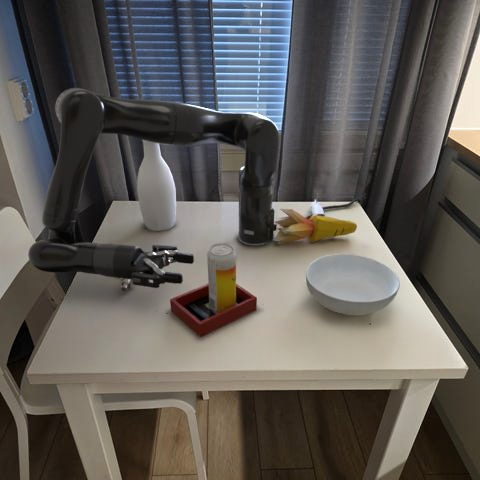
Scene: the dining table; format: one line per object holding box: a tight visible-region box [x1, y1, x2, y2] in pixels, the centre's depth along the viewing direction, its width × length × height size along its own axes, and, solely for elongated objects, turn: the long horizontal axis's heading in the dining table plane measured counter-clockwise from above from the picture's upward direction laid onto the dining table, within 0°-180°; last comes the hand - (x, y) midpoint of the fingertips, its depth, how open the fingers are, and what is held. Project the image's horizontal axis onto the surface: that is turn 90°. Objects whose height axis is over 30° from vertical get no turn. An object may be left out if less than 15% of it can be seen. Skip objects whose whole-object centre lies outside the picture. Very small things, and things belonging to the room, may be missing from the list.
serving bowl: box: [305, 253, 401, 316], centre depth 103 cm, size 21×21×7 cm
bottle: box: [136, 139, 177, 232], centre depth 129 cm, size 11×11×25 cm
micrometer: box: [120, 279, 133, 292], centre depth 113 cm, size 15×7×2 cm, turn 177°
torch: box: [273, 208, 358, 245], centre depth 128 cm, size 8×8×25 cm
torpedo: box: [308, 192, 326, 217], centre depth 139 cm, size 18×5×7 cm, turn 0°
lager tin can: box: [206, 242, 237, 314], centre depth 99 cm, size 6×6×15 cm
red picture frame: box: [169, 283, 258, 338], centre depth 101 cm, size 16×12×4 cm
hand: (188, 268), depth 99 cm, fingers open, 8 cm apart
